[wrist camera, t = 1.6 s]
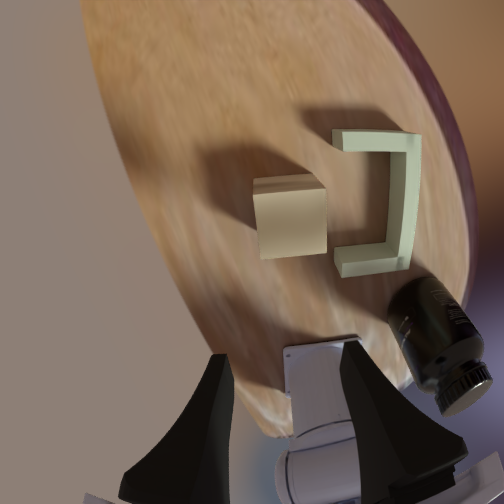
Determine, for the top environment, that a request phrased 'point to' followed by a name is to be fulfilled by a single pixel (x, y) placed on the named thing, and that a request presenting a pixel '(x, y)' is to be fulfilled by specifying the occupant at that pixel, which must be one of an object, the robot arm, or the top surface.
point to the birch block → (290, 215)
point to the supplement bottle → (439, 345)
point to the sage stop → (400, 201)
